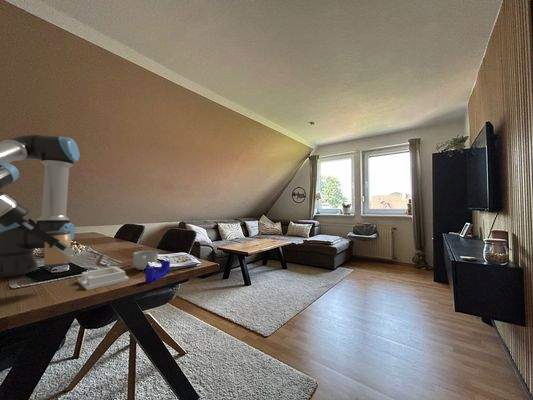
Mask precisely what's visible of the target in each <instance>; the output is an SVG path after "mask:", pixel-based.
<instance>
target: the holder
mask: <svg viewBox="0 0 533 400" xmlns="http://www.w3.org/2000/svg"><path fill="white" fill-rule="evenodd" d="M126 273H127V272H126V271H125V270H123V269H121V268H119V267H118V266H111V267H105V268H104V267H103V268H99V269H94V270H89V271H83V272H81V277H79V278H77V282H78V284H79V285H80V286H82V287H83V288H84V289H85V290H86V291H89V290H90V291H91V290H93V289H98V288H103V287H107V286H111V285H112V286H113V285H115V284H120V283H124V282H128V281H129V280H130V277H129V276H128V275H126Z"/></svg>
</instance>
